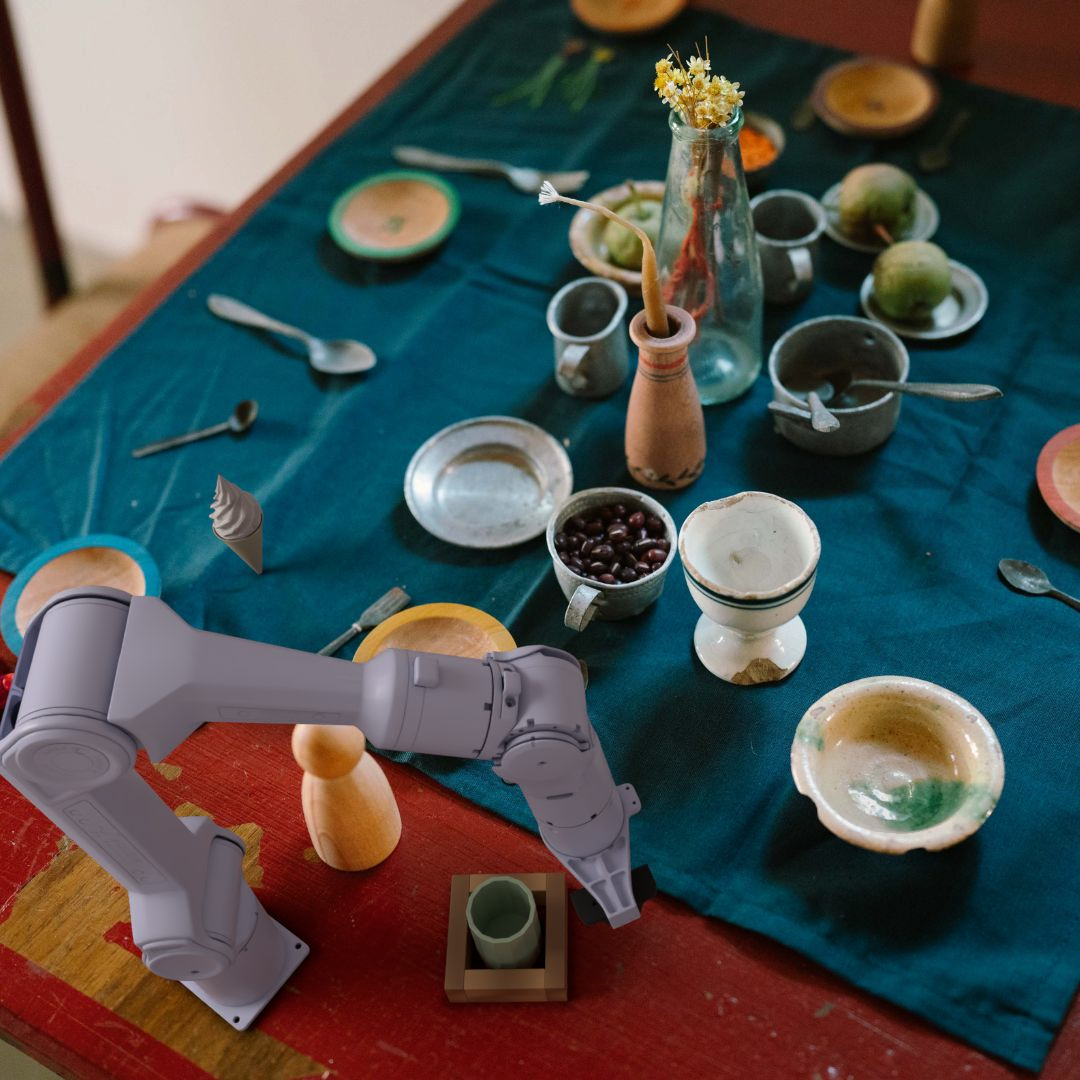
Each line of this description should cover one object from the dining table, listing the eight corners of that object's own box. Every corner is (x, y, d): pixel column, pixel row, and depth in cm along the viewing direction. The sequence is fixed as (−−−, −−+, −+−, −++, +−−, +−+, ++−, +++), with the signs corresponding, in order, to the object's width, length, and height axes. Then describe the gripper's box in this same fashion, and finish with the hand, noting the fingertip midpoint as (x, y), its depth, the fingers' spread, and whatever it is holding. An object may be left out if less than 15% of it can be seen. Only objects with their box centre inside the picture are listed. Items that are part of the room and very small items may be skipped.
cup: (464, 952, 93) (452, 918, 88) (504, 899, 96) (494, 863, 91) (516, 989, 91) (507, 957, 86) (555, 934, 94) (548, 899, 88)
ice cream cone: (274, 594, 119) (232, 496, 107) (228, 588, 120) (182, 490, 108) (290, 556, 122) (251, 456, 110) (246, 551, 123) (202, 452, 111)
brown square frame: (449, 1002, 91) (444, 989, 89) (457, 889, 97) (451, 874, 95) (567, 1001, 90) (564, 988, 88) (567, 887, 96) (565, 872, 94)
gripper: (670, 858, 71) (696, 938, 81) (586, 677, 80) (618, 770, 91) (564, 905, 71) (603, 980, 81) (491, 718, 80) (535, 806, 90)
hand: (605, 872), depth 86 cm, fingers open, 7 cm apart
